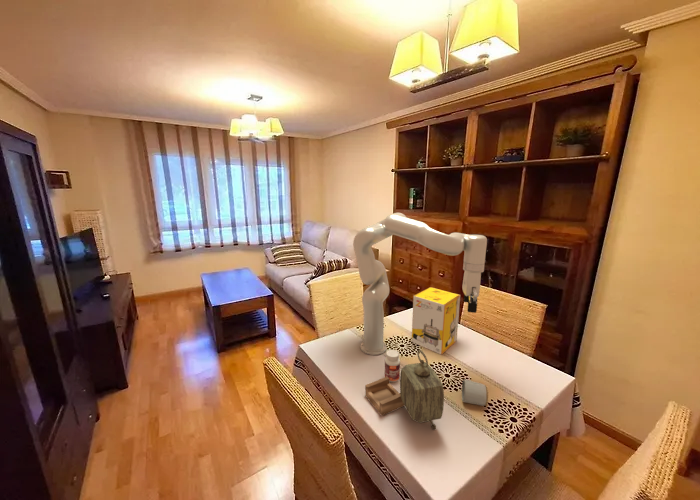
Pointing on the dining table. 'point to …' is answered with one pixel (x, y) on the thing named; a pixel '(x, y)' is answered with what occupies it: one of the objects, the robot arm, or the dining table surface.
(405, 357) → the dining table surface
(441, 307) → the packaging box
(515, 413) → the dining table surface
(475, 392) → the ceramic mug
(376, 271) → the robot arm
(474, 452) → the dining table surface
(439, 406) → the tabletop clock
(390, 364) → the pill bottle
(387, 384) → the tray
